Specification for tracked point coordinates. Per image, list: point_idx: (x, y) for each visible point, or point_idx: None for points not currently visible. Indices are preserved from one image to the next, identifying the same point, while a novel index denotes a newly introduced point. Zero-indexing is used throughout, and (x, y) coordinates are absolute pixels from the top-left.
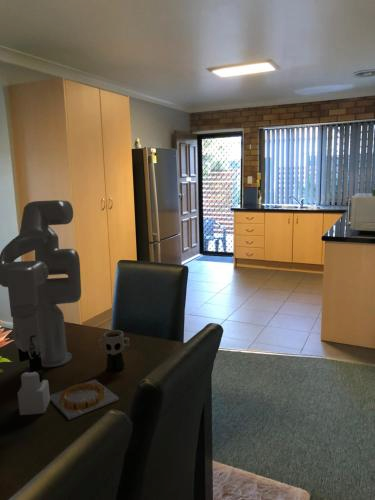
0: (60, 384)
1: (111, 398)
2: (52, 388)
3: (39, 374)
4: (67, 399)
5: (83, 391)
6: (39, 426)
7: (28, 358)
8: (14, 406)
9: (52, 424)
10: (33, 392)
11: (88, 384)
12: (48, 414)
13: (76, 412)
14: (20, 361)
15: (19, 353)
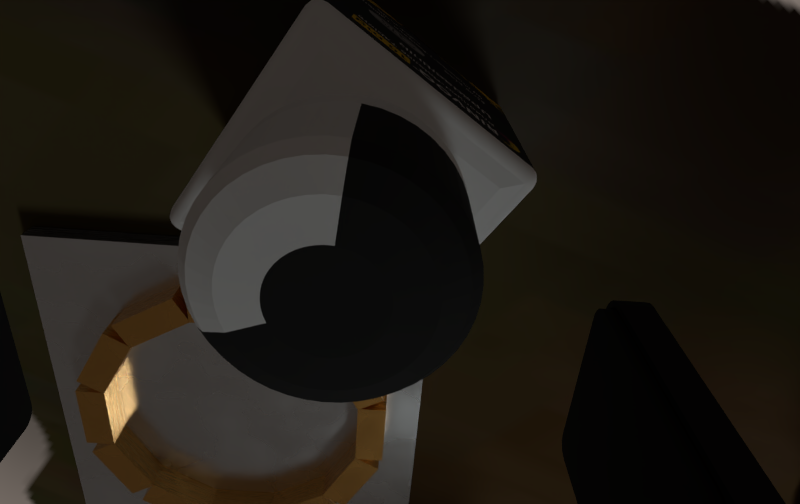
0: (555, 387)
1: (104, 493)
2: (550, 330)
3: (204, 334)
4: None
5: (306, 436)
6: (67, 35)
7: (571, 432)
8: (534, 4)
9: (41, 121)
10: (211, 150)
11: (322, 493)
12: (202, 159)
13: (58, 297)
14: (612, 302)
15: (684, 423)
